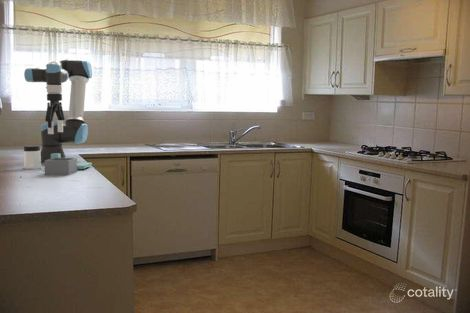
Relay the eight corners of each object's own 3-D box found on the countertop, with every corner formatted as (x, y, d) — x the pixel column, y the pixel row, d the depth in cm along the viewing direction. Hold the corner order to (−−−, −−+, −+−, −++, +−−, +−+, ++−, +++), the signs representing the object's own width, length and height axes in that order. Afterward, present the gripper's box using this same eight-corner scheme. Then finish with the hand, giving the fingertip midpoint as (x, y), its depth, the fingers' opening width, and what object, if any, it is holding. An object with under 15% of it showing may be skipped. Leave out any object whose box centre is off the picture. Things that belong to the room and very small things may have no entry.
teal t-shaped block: (56, 166, 276) (55, 152, 276) (91, 167, 276) (91, 152, 275) (46, 170, 264) (46, 155, 263) (84, 170, 263) (83, 155, 262)
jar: (43, 166, 275) (42, 145, 273) (39, 168, 267) (38, 146, 265) (26, 166, 274) (25, 145, 272) (21, 169, 266) (20, 146, 264)
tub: (54, 171, 259) (53, 157, 258) (77, 171, 259) (76, 158, 258) (44, 174, 247) (44, 160, 246) (68, 174, 247) (68, 160, 246)
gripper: (56, 93, 278) (57, 131, 280) (37, 93, 253) (39, 134, 256) (69, 93, 278) (70, 131, 280) (52, 93, 253) (53, 134, 255)
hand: (55, 133), depth 268 cm, fingers open, 13 cm apart
